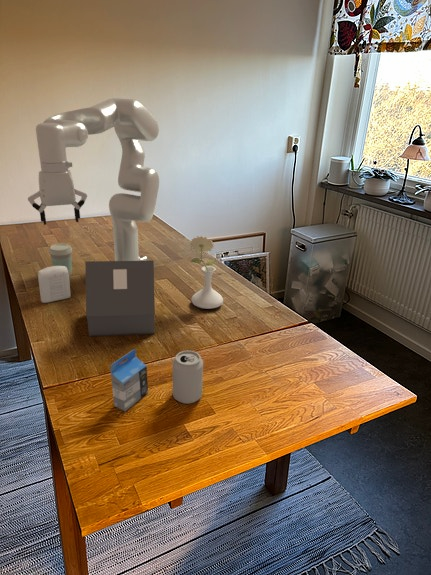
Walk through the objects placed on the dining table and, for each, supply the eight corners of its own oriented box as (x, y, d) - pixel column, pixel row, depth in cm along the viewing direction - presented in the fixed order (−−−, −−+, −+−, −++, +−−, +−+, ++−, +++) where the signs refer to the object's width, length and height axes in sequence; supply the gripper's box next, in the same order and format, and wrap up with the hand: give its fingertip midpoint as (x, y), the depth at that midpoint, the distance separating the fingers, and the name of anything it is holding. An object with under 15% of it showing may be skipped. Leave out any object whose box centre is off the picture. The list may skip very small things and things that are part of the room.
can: (172, 387, 119) (172, 348, 113) (201, 386, 119) (202, 348, 114) (172, 406, 112) (172, 366, 107) (202, 405, 112) (204, 365, 107)
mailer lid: (85, 261, 137) (85, 261, 137) (153, 260, 140) (153, 260, 140) (86, 316, 136) (86, 316, 135) (154, 314, 139) (154, 314, 138)
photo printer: (68, 293, 165) (65, 262, 159) (72, 298, 162) (69, 266, 156) (39, 299, 160) (35, 267, 154) (43, 304, 156) (38, 271, 151)
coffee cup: (79, 273, 181) (76, 244, 176) (66, 281, 174) (62, 252, 169) (61, 269, 184) (57, 241, 178) (47, 277, 176) (43, 248, 171)
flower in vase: (228, 301, 164) (231, 235, 153) (214, 314, 155) (217, 245, 144) (196, 293, 169) (197, 229, 158) (181, 306, 159) (181, 238, 149)
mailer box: (94, 311, 153) (92, 293, 150) (153, 309, 156) (153, 291, 153) (88, 336, 139) (87, 316, 136) (154, 333, 142) (154, 314, 139)
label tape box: (125, 412, 109) (122, 370, 104) (112, 406, 111) (109, 364, 106) (148, 393, 116) (147, 352, 111) (136, 387, 118) (134, 347, 113)
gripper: (82, 163, 141) (87, 216, 148) (22, 165, 135) (31, 220, 143) (85, 168, 135) (90, 223, 142) (23, 171, 129) (32, 228, 136)
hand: (61, 222), depth 142 cm, fingers open, 9 cm apart
